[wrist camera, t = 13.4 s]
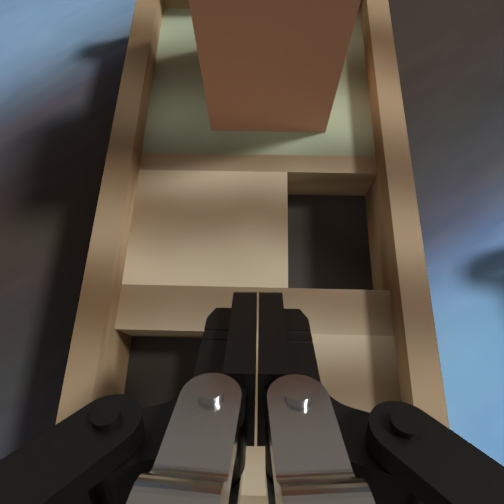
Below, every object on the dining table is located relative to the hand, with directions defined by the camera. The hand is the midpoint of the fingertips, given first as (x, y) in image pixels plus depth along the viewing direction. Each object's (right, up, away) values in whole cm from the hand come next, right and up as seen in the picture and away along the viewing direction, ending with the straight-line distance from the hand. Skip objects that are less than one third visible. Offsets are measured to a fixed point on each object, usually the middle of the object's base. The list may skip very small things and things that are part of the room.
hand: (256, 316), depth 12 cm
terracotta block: (+1, +11, +9) cm, 14 cm away
